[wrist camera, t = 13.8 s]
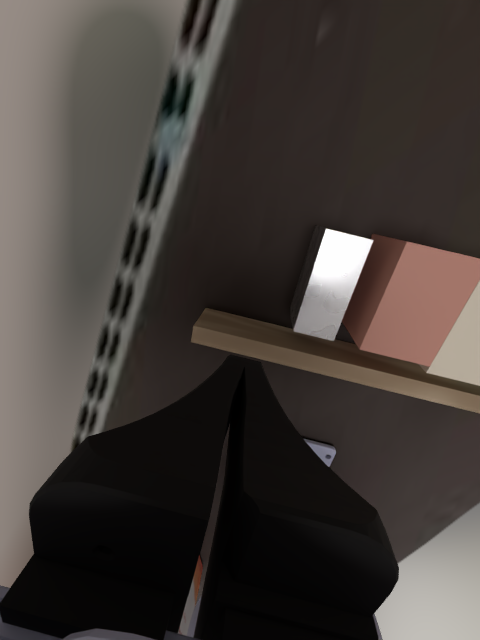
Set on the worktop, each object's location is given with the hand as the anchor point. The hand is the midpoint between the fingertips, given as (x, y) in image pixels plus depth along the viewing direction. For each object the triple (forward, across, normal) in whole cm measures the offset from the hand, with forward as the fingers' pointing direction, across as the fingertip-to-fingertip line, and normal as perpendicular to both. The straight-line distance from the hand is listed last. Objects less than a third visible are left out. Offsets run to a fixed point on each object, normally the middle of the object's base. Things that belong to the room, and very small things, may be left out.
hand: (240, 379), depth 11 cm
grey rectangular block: (+10, -4, -3) cm, 11 cm away
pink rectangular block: (+10, -8, -3) cm, 13 cm away
